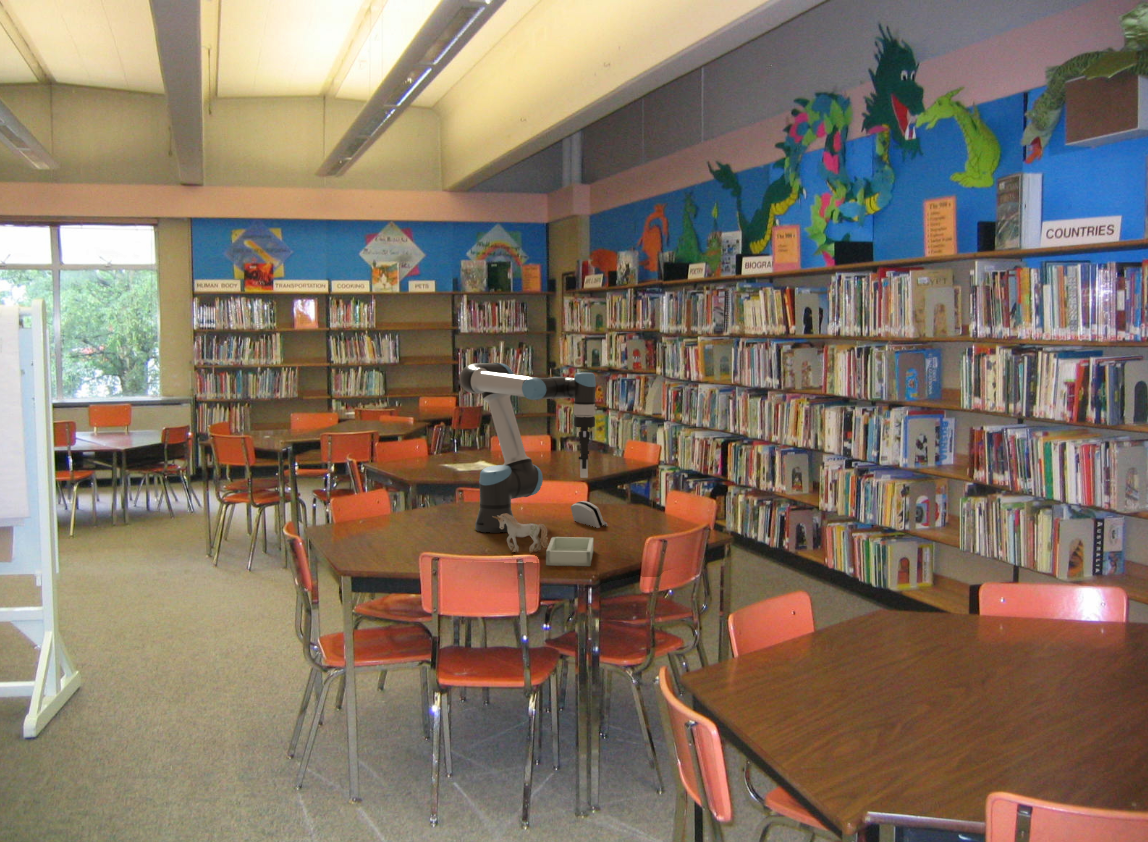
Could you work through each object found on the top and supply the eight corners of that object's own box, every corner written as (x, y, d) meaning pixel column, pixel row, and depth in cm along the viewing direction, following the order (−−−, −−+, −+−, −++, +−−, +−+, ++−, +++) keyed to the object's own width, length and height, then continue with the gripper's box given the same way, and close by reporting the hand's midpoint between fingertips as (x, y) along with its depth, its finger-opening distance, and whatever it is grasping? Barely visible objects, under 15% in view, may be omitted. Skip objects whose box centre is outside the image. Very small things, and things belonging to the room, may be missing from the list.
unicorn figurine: (488, 551, 326) (488, 512, 325) (545, 548, 331) (545, 510, 330) (492, 556, 319) (492, 516, 318) (550, 553, 324) (550, 513, 323)
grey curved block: (608, 526, 369) (601, 503, 367) (598, 532, 367) (591, 508, 364) (584, 519, 383) (577, 496, 381) (574, 524, 381) (567, 501, 378)
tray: (546, 565, 307) (546, 551, 307) (551, 550, 329) (552, 536, 329) (590, 566, 306) (590, 552, 306) (593, 550, 328) (593, 537, 328)
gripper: (595, 419, 335) (594, 480, 337) (594, 412, 360) (593, 469, 362) (574, 419, 335) (573, 480, 337) (574, 412, 360) (573, 469, 362)
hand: (583, 474), depth 349 cm, fingers open, 13 cm apart
